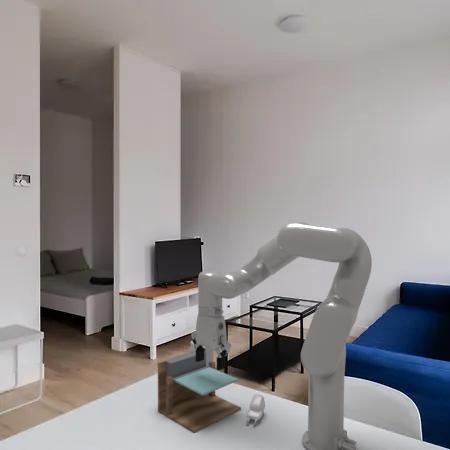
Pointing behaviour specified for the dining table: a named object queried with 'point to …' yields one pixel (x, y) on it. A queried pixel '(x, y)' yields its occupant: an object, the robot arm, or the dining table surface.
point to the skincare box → (208, 353)
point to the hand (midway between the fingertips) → (210, 365)
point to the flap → (196, 374)
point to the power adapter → (256, 408)
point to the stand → (190, 403)
